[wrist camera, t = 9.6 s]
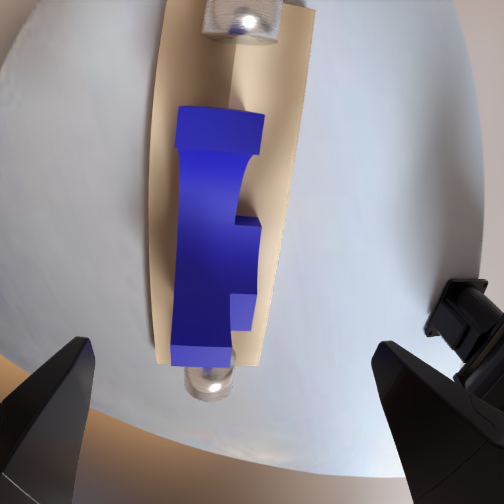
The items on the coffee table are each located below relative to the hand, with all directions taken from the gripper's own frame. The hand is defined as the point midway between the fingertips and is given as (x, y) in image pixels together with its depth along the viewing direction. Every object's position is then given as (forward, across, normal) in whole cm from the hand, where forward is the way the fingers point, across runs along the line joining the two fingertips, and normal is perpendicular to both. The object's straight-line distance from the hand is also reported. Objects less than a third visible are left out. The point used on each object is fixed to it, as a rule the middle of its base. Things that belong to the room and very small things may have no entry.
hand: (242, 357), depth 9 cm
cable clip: (+11, 0, 0) cm, 11 cm away
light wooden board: (+12, 0, -1) cm, 12 cm away
